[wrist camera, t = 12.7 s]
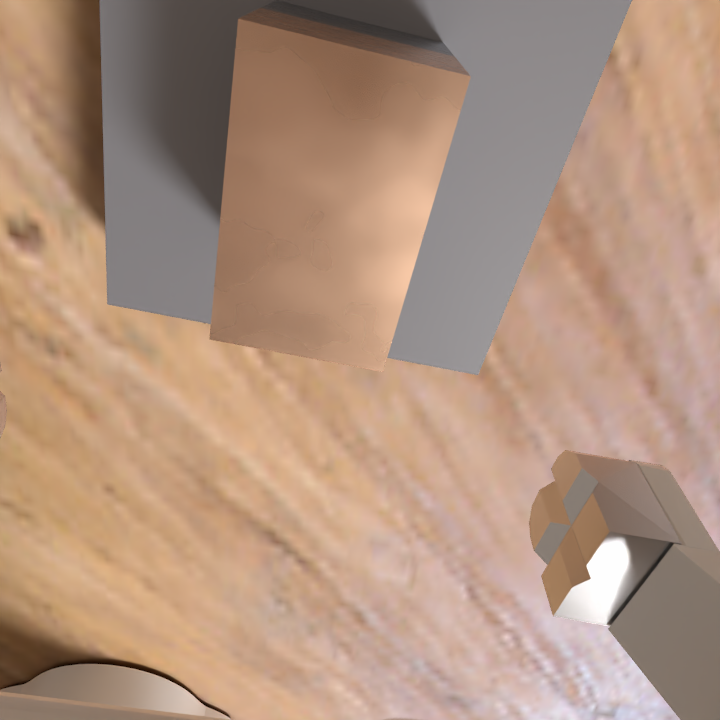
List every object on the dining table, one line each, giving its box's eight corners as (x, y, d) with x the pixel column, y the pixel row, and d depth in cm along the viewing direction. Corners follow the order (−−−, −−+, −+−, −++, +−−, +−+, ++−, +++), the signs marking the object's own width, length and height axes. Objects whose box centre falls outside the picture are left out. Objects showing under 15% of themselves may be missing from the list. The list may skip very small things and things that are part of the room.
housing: (442, 42, 18) (470, 76, 13) (380, 278, 22) (382, 372, 17) (276, 0, 17) (238, 18, 12) (246, 250, 22) (209, 339, 17)
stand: (465, 325, 28) (477, 374, 25) (140, 260, 26) (107, 304, 23) (607, -57, 20) (656, -58, 16) (145, -186, 18) (93, -218, 15)
